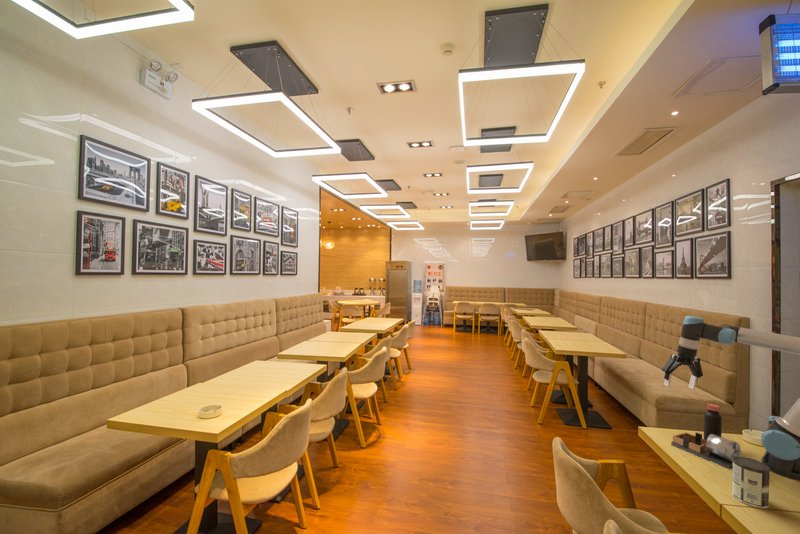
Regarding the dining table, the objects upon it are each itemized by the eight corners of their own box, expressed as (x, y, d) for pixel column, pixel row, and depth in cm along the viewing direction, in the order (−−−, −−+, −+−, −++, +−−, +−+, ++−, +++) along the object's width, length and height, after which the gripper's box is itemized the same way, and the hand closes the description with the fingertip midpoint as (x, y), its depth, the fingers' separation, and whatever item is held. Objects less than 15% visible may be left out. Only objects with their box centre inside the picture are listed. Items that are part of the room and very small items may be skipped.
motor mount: (743, 463, 162) (744, 440, 163) (728, 469, 157) (729, 445, 157) (685, 440, 183) (686, 420, 183) (671, 444, 178) (672, 424, 178)
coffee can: (754, 493, 139) (755, 458, 139) (776, 511, 129) (778, 472, 129) (724, 489, 141) (725, 454, 141) (743, 506, 131) (745, 468, 131)
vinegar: (707, 440, 185) (709, 402, 185) (723, 446, 178) (725, 407, 179) (700, 442, 182) (701, 403, 182) (716, 448, 176) (717, 408, 176)
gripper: (704, 346, 181) (695, 386, 183) (658, 341, 179) (650, 381, 181) (718, 352, 173) (708, 392, 176) (670, 346, 172) (661, 388, 174)
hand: (678, 387), depth 178 cm, fingers open, 13 cm apart
